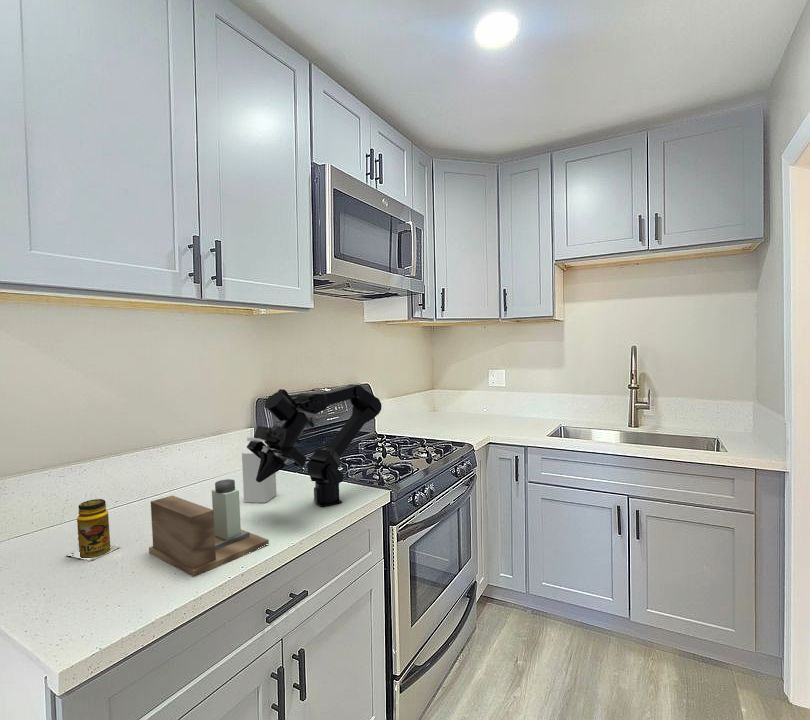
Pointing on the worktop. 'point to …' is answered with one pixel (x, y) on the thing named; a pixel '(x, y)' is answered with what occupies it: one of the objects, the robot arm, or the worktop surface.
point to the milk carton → (250, 469)
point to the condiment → (93, 529)
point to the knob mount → (194, 537)
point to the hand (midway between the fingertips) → (257, 481)
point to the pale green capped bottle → (226, 509)
